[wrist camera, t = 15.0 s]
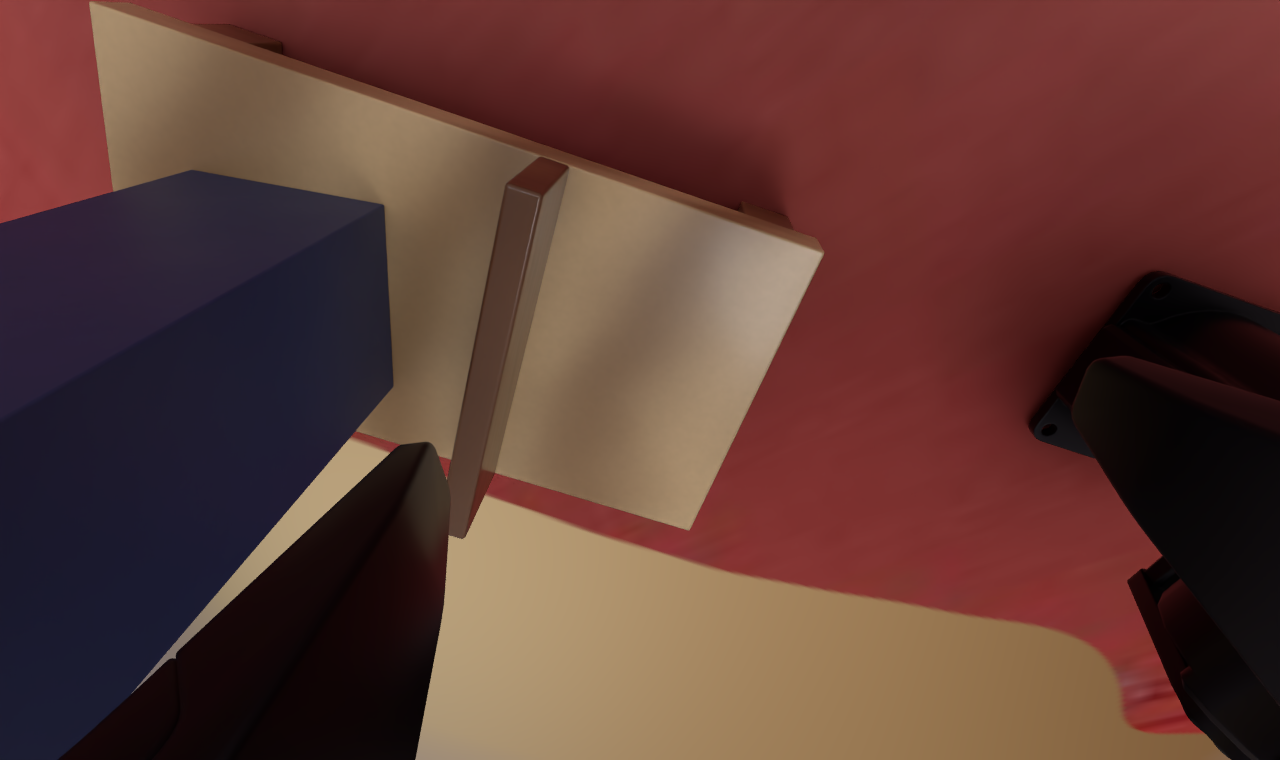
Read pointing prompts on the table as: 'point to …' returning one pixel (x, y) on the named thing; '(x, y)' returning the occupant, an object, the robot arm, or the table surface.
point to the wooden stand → (489, 267)
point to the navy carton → (164, 417)
